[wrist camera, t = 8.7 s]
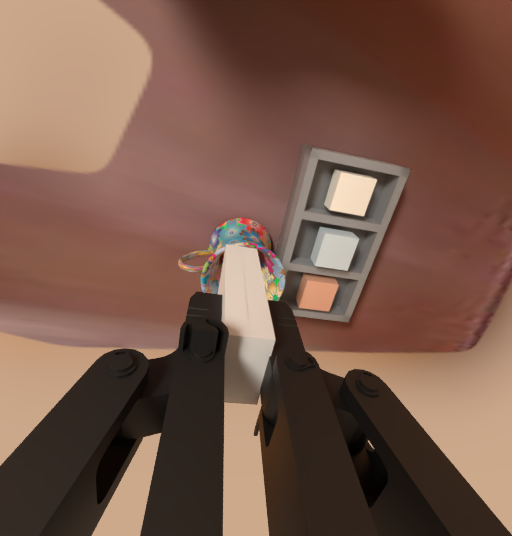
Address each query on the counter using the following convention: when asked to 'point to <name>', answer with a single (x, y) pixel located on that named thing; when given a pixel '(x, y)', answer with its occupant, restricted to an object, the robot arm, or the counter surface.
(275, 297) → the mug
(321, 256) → the key middle
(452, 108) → the counter surface
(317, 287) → the key
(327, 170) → the grey compartment tray
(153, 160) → the counter surface
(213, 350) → the robot arm
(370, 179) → the key
